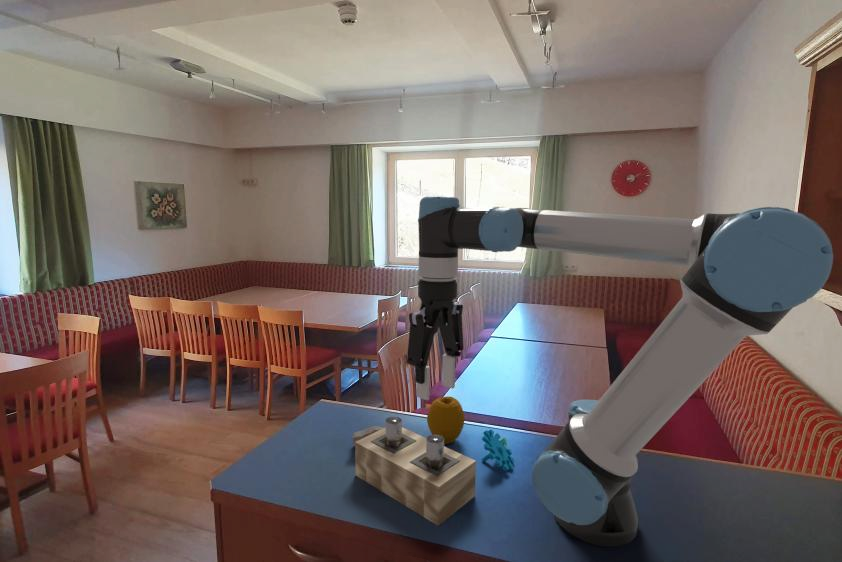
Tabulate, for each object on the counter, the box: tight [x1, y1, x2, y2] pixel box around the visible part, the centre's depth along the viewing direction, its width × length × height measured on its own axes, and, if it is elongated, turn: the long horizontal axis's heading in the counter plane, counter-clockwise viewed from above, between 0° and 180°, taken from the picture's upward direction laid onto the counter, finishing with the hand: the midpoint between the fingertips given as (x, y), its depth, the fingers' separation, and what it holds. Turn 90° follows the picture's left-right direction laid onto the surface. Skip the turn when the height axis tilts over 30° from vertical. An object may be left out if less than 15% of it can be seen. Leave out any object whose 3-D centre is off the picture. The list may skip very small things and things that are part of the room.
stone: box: [351, 425, 384, 447], centre depth 111 cm, size 10×8×6 cm
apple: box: [426, 396, 466, 445], centre depth 115 cm, size 10×10×12 cm
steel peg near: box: [425, 434, 445, 470], centre depth 91 cm, size 4×4×8 cm
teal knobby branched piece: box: [481, 428, 515, 472], centre depth 105 cm, size 11×6×10 cm
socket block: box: [354, 426, 477, 526], centre depth 96 cm, size 24×12×8 cm, turn 48°
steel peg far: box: [384, 416, 403, 449], centre depth 99 cm, size 4×4×8 cm
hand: (436, 391), depth 89 cm, fingers open, 7 cm apart
